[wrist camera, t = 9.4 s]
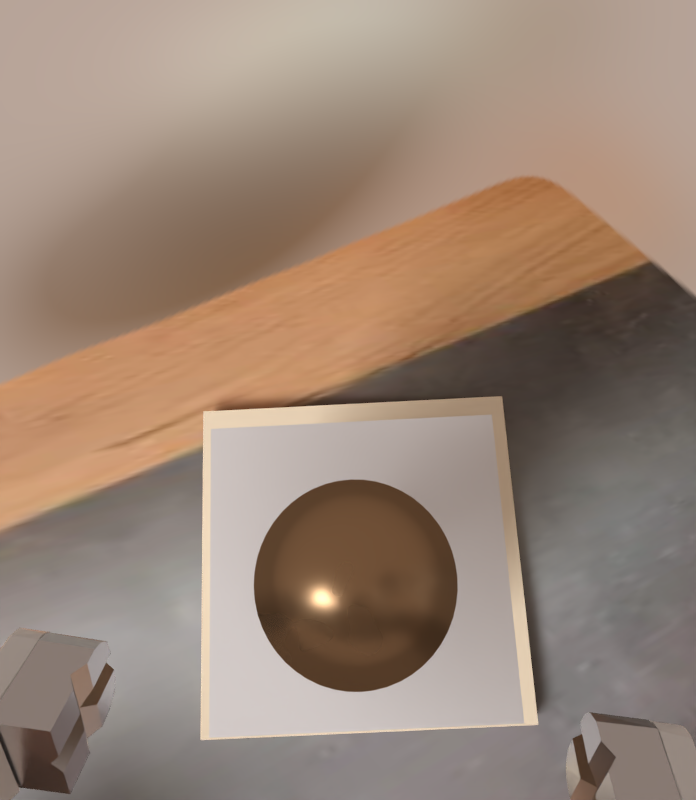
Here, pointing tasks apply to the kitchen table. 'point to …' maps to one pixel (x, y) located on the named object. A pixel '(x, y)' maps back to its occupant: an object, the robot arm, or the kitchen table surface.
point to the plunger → (355, 585)
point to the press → (417, 477)
